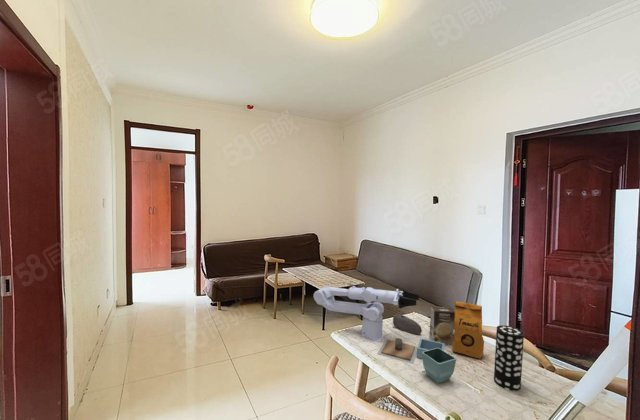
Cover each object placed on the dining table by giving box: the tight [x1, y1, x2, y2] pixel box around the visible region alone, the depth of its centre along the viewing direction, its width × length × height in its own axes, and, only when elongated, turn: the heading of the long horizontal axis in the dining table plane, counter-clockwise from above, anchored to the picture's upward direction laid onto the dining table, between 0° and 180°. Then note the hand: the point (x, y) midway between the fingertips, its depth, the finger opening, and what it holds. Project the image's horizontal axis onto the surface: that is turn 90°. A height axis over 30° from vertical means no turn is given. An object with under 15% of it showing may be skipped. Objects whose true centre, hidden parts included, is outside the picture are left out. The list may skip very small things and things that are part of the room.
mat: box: [376, 338, 418, 365], centre depth 128 cm, size 15×15×1 cm
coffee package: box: [451, 301, 485, 360], centre depth 128 cm, size 10×12×22 cm
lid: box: [381, 337, 416, 361], centre depth 127 cm, size 12×12×5 cm
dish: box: [416, 337, 446, 360], centre depth 124 cm, size 10×10×4 cm
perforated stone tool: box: [392, 313, 423, 335], centre depth 147 cm, size 15×5×7 cm, turn 43°
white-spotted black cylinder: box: [493, 324, 525, 392], centre depth 107 cm, size 8×8×20 cm
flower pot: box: [421, 348, 457, 384], centre depth 109 cm, size 9×9×9 cm
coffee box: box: [428, 305, 455, 347], centre depth 136 cm, size 9×6×16 cm
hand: (417, 299), depth 131 cm, fingers open, 7 cm apart
